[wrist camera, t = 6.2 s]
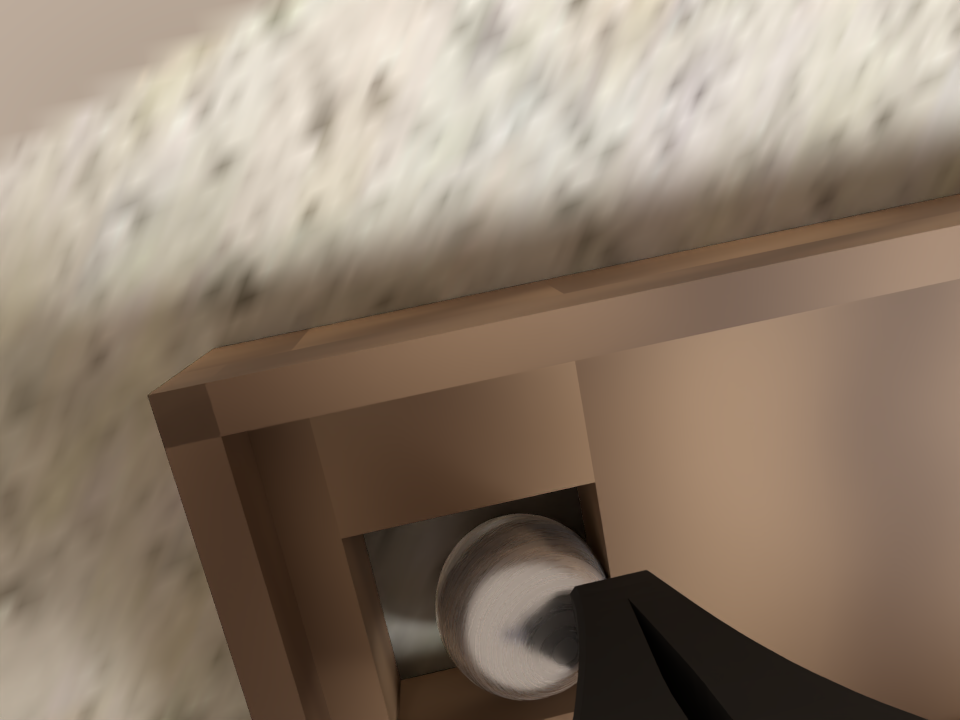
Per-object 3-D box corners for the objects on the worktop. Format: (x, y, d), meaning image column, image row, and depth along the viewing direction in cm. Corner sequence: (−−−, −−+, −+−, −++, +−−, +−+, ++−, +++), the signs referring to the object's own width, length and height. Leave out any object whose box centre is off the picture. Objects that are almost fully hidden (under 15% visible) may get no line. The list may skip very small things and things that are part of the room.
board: (1126, 159, 13) (1340, 145, 10) (1113, 640, 16) (1282, 745, 13) (213, 348, 13) (147, 395, 10) (352, 825, 15) (337, 985, 12)
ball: (542, 467, 14) (634, 529, 11) (567, 599, 15) (658, 689, 12) (396, 523, 13) (456, 608, 10) (431, 662, 14) (497, 776, 11)
